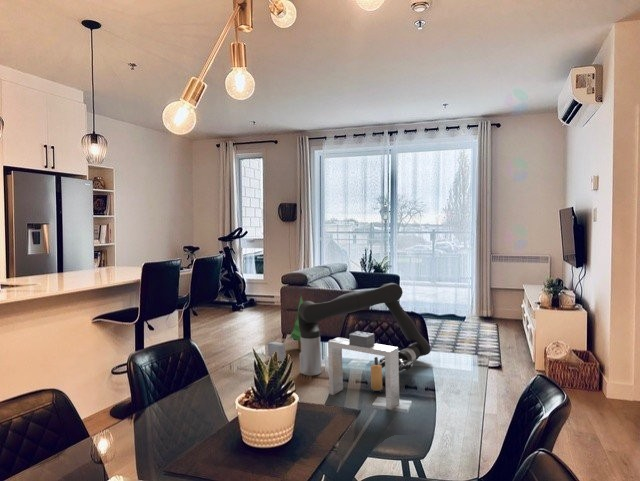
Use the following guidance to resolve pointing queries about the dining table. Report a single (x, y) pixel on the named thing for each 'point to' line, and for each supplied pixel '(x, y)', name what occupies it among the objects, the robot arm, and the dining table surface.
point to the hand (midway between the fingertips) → (388, 368)
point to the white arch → (366, 345)
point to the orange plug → (376, 375)
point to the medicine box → (277, 350)
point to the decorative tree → (297, 329)
